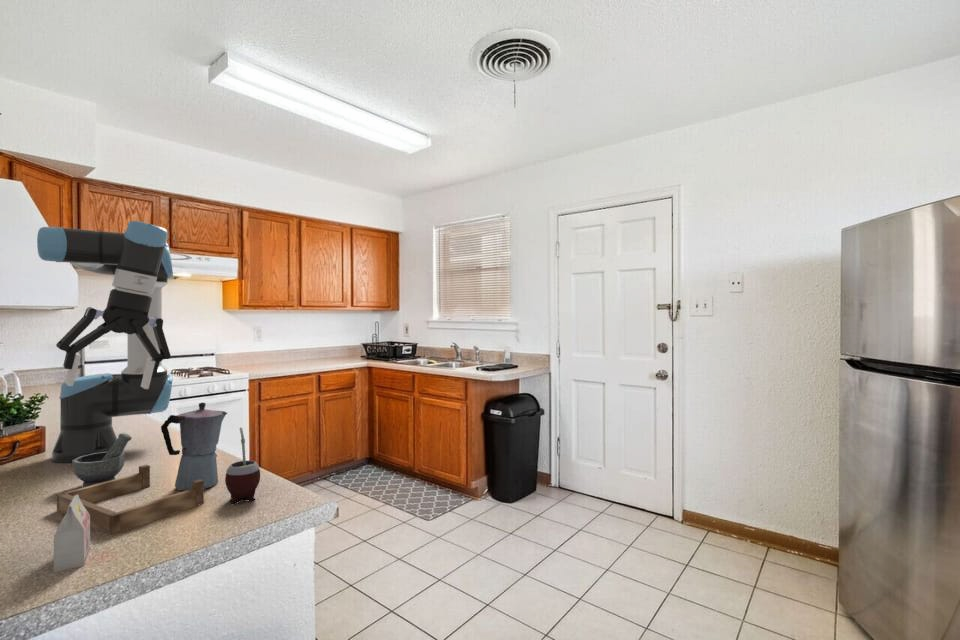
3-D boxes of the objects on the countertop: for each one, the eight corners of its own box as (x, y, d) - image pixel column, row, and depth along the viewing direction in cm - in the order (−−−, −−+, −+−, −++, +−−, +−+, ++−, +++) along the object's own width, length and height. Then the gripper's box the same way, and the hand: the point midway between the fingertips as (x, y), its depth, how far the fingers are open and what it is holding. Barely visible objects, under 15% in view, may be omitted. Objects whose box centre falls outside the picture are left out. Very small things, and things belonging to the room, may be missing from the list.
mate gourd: (243, 507, 101) (243, 437, 101) (214, 502, 103) (214, 434, 103) (268, 494, 108) (268, 429, 108) (240, 490, 110) (241, 427, 110)
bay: (146, 485, 114) (146, 464, 114) (203, 503, 103) (203, 480, 103) (56, 511, 98) (56, 487, 98) (113, 535, 88) (113, 508, 88)
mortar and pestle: (69, 495, 107) (69, 443, 107) (74, 483, 114) (74, 434, 114) (131, 485, 113) (131, 436, 113) (132, 475, 121) (132, 428, 121)
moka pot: (238, 479, 118) (238, 400, 118) (176, 501, 104) (176, 411, 104) (212, 473, 122) (213, 397, 122) (150, 493, 108) (150, 407, 108)
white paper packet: (53, 572, 75) (53, 510, 75) (62, 554, 81) (62, 496, 81) (83, 565, 77) (83, 505, 77) (89, 548, 83) (89, 492, 83)
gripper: (64, 280, 91) (36, 387, 90) (199, 304, 111) (177, 392, 110) (54, 277, 96) (28, 379, 95) (186, 300, 116) (165, 385, 115)
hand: (108, 386), depth 103 cm, fingers open, 13 cm apart
